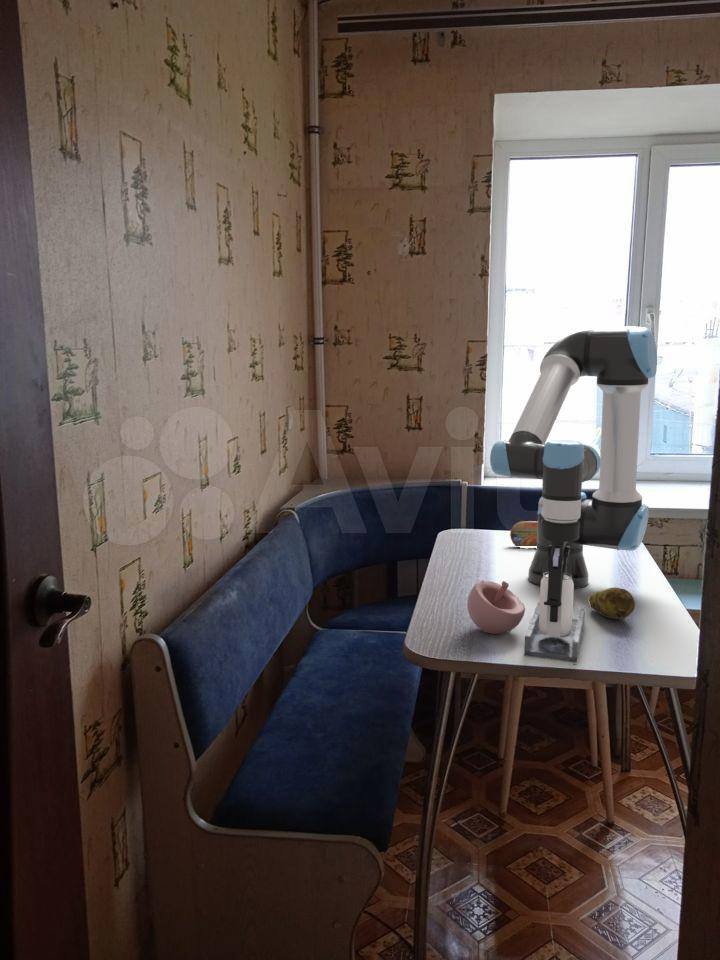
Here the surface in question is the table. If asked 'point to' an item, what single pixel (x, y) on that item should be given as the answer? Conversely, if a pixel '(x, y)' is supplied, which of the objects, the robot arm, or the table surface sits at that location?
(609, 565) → the table surface
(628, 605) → the potato
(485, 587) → the mortar and pestle
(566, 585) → the can
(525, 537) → the tin
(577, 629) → the track
